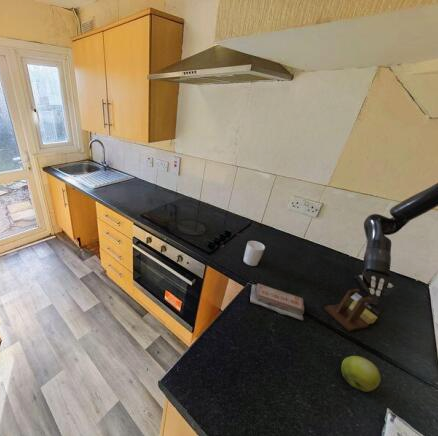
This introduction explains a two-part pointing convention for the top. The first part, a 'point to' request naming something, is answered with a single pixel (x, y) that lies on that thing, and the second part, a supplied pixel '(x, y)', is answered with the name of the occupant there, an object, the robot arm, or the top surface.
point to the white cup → (253, 252)
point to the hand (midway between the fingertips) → (371, 305)
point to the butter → (365, 314)
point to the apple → (360, 373)
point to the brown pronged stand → (349, 311)
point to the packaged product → (277, 301)
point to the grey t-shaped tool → (372, 309)
